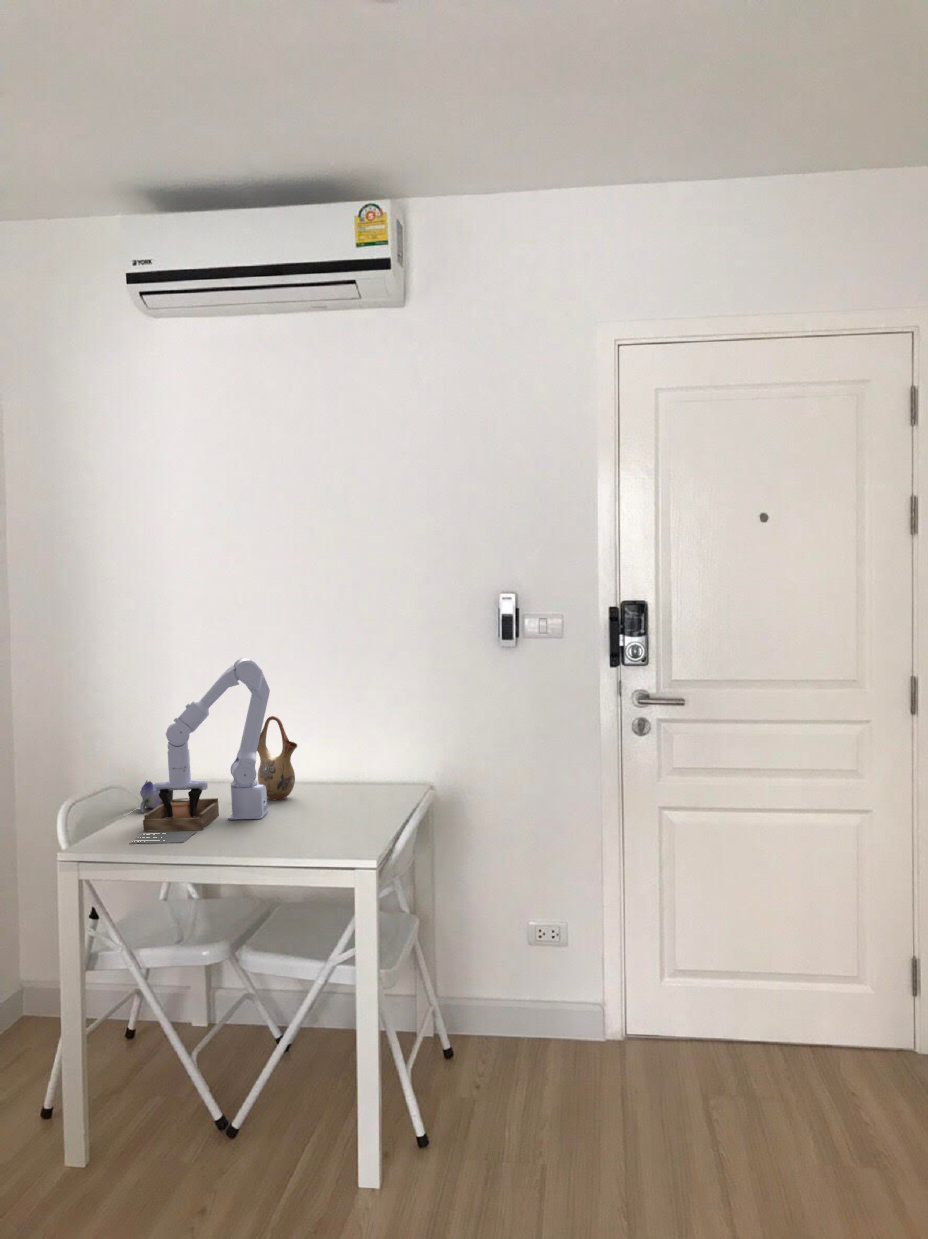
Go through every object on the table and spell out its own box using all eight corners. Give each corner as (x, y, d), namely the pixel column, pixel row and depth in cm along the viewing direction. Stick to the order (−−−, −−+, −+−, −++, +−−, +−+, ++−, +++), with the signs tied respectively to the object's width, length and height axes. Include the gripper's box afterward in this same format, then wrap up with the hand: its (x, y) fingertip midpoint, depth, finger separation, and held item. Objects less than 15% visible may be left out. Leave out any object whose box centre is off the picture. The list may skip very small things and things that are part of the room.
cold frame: (218, 815, 284) (218, 798, 283) (202, 829, 269) (201, 811, 269) (163, 817, 285) (162, 799, 284) (143, 831, 270) (142, 812, 269)
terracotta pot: (196, 819, 279) (194, 797, 279) (189, 824, 274) (188, 802, 273) (175, 819, 280) (174, 797, 279) (168, 825, 274) (167, 802, 274)
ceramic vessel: (308, 797, 303) (304, 714, 301) (289, 804, 295) (285, 719, 293) (265, 793, 310) (261, 712, 309) (246, 799, 303) (241, 717, 301)
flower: (151, 793, 286) (159, 771, 295) (126, 804, 288) (134, 783, 297) (170, 815, 290) (177, 793, 299) (146, 826, 292) (154, 804, 301)
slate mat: (195, 832, 266) (195, 831, 266) (183, 842, 256) (183, 842, 256) (143, 833, 267) (143, 832, 267) (129, 844, 257) (129, 843, 257)
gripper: (209, 763, 279) (212, 811, 280) (158, 764, 280) (161, 813, 281) (201, 768, 272) (204, 818, 273) (149, 770, 273) (152, 819, 274)
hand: (182, 816), depth 277 cm, fingers closed on terracotta pot, 6 cm apart
